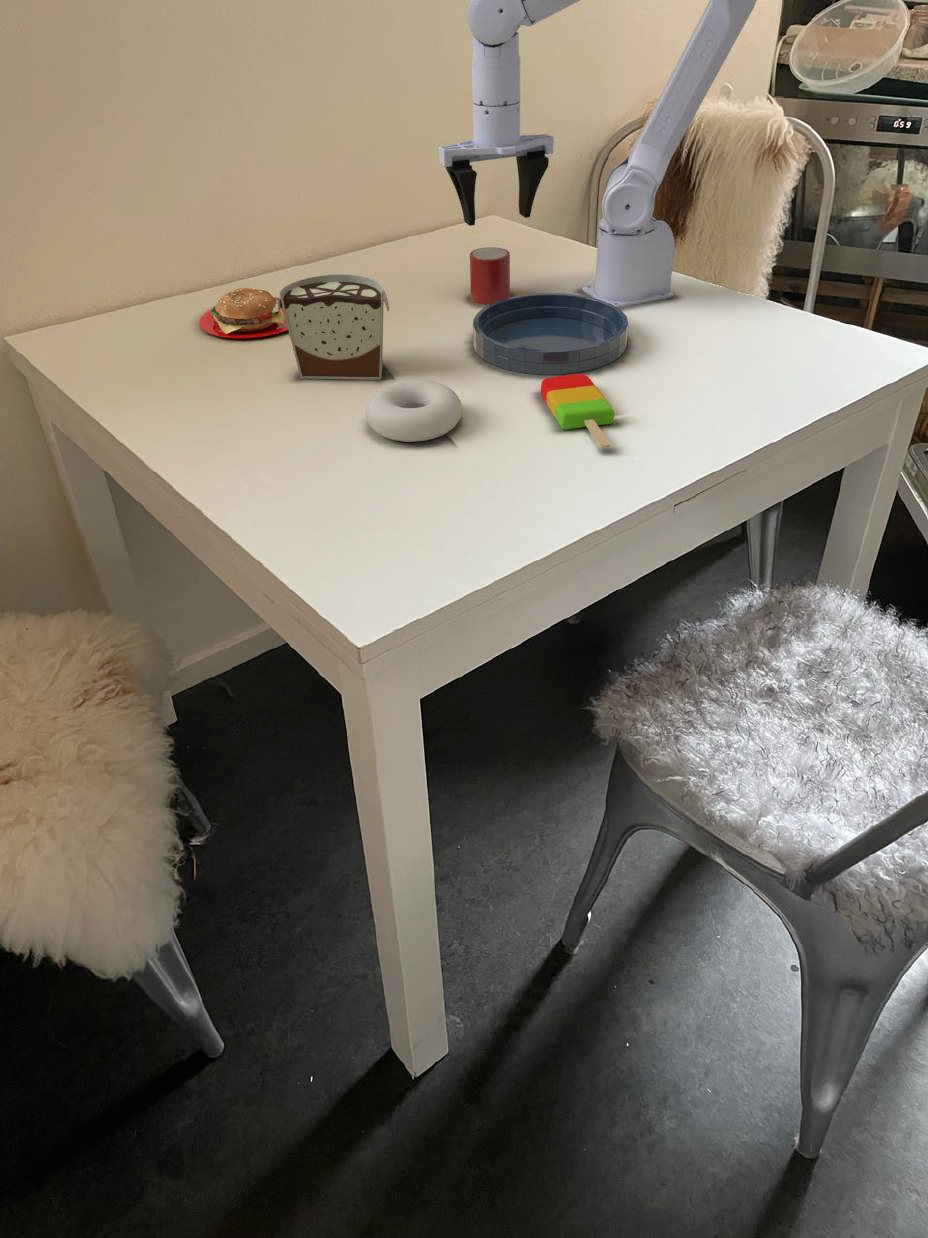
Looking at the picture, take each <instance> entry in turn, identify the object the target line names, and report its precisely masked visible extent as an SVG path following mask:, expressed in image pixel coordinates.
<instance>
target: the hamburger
mask: <svg viewBox="0 0 928 1238" xmlns="http://www.w3.org/2000/svg"><path fill="white" fill-rule="evenodd" d="M198 320H199V321H198V325H199V327H200V329H201V330H203V331H204V332H205V333H207V334H210V335H212V336H216V337H220V338H229V339H251V338H261V337H267V336H271V335H277V334H280V333H283V332H287V331H289V330H288V326H287V322H286V318H285V314H284V310H283V307H282V308H281V309H280V310H278V297H277V296H276V297H275V296H273V295H272V294H271V293H270V292H269V291H268V290H266V289H258V288H253V287H246V286H245V287H240V288H235V289H231V291H228V292H226V293H224V294H223V295H221V296H220V297H219V298H218V299H217V303H216V304H215V306H213V307H212V308H210V309H209V310H207V311H206V312H205V313H203V315H202V314H201V316H200V318H199V319H198Z"/></svg>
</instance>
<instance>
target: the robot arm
mask: <svg viewBox="0 0 928 1238" xmlns="http://www.w3.org/2000/svg"><path fill="white" fill-rule="evenodd" d="M580 1H581V0H470V2H469V4H468V8H467V12H466V13H467V14H466V17H467V19H466V20H467V25H468V27H469V30H470V32H471V34H472V41H471V48H472V58H471V84H472V85H471V90H472V92H471V93H472V94H471V95H472V133H473V137H472V139H471V140H466V141H462V142H458V143H454V144H449V145H448V144H447V145H442V146H438V161H439V165H441V166H443V167H444V168H445V171H446V172H447V174H448V176H449V178H450V179H451V182H452V184H453V186H454V189H455V191H456V194H457V197H458V199H459V203H460V206H461V211H462V215H463V216H462V217H463V221H464V223H465V224H467V226H469V227H471V226H475V225H476V207H475V206H476V203H475V196H476V194H475V193H476V184H477V183H476V182H477V176H478V172H477V171H476V170H475V169H473V165H472V164H471V163H476V162H484V161H491V160H492V161H493V160H499V159H500V160H501V159H508V158H515V159H516V166H517V174H518V214H519V215H520V216H522V217H523V218H524V219H527V218H531V216H532V215H531V213H532V210H533V205H534V201H535V198H536V194H537V190H538V188H539V186H540V183H541V181H542V179H543V177H544V175H545V173H546V171H547V170H548V168H549V165H550V159H549V157H548V156H546V155H552V154H554V144H555V143H554V136H552V135H550V134H549V133H542V134H540V133H539V134H521V57H520V54H519V52H520V51H519V50H520V49H519V48H520V47H519V46H520V37H519V36H520V32H518V30H519V29H520V27H521V26H526V27H532V26H534V25H536V24H539V23H540V22H542V21H544V20H545V19H548V18H549V17H552V16H553V15H555V14H558V13H559V12H562V11H563V10H565V9H566V8H569V7H571V6H572V5H575V4H577V3H579V2H580ZM756 3H757V0H709V1H708V3H707V5H706V6H705V8H704V11H703V12H702V15H701V17H700V19H699V20H698V21H697V24H696V26H695V27H694V30H693V31H692V33H691V35H690V37H689V39H688V42H687V43H686V45H685V47H684V48H683V51H682V53H681V55H680V57H679V59H678V60H677V63H676V64H675V66H674V69H673V70H672V72H671V74H670V76H669V78H668V80H667V82H666V83H665V86H664V88H663V90H662V92H661V93H660V95H659V97H658V99H657V101H656V103H655V104H654V107H653V109H652V111H651V113H650V114H649V116H648V118H647V120H646V122H645V124H644V126H643V128H642V130H641V131H640V134H639V135H638V137H637V139H636V140H635V141H634V143H633V145H632V146H631V148H630V150H629V152H628V154H627V156H626V157H625V158H624V159H623V160H622V161H621V162H620V163H618V164H617V165H615V167H613V168H612V169H611V171H610V173H609V174H608V176H607V178H606V181H605V193H604V194H603V198H602V201H601V214H602V217H601V218H600V219H599V220H598V228H597V229H598V230H597V245H596V246H597V247H596V251H597V252H596V265H595V281H594V282H595V284H591V285H584V286H582V289H581V290H582V292H584V293H585V294H587V295H588V296H589V297H591V298H595V299H599V300H602V301H605V302H607V303H610V304H612V305H614V306H616V307H617V308H619V309H620V308H624V307H628V306H634V305H638V304H639V305H640V304H643V303H649V302H653V301H659V300H664V299H669V298H673V297H674V293H673V292H672V291H671V285H672V276H673V267H674V266H673V265H674V258H675V238H674V233H673V230H672V228H671V227H670V225H669V224H668V223H667V222H666V221H664V220H659V219H658V220H657V219H656V217H653V214H654V210H655V201H656V195H657V192H658V189H659V187H660V186H661V184H662V182H663V180H664V177H665V175H666V173H667V169H668V167H669V165H670V162H671V160H672V158H673V156H674V154H675V153H676V150H677V149H678V147H679V146H680V143H681V142H682V140H683V138H684V136H685V134H686V132H687V130H688V128H689V127H690V125H691V123H692V122H693V120H694V118H695V116H696V114H697V113H698V110H699V109H700V107H701V105H702V103H703V101H704V99H705V98H706V96H707V94H708V93H709V90H710V89H711V87H712V85H713V84H714V81H715V79H716V77H717V76H718V74H719V72H720V70H721V69H722V67H723V65H724V63H725V61H726V60H727V58H728V55H729V54H730V52H731V50H732V48H733V46H734V45H735V43H736V41H737V39H738V37H739V36H740V34H741V32H742V30H743V29H744V27H745V25H746V23H747V21H748V20H749V17H750V16H751V14H752V12H753V10H754V8H755V6H756Z"/></svg>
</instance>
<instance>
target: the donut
mask: <svg viewBox="0 0 928 1238" xmlns="http://www.w3.org/2000/svg"><path fill="white" fill-rule="evenodd" d="M462 408H463V407H462V401H461V399H460V397H459V396H458V394H457V393H456V392H455V391H454V390H453V389H452V388H450V387H448V386H447V385H445V384H443V383H439V382H436V381H432V380H424V379H407V380H402V381H396V382H393V383H390V384H387V385H384V386H382V387H380V388H379V389H377V390H376V391H374V392H373V394H372V395H370V397H369V398H368V400H367V402H366V406H365V419H366V421H367V423H368V424H369V426H370V428H371V429H372V431H374V432H375V433H376V434H378V435H380V436H382V437H383V438H386V439H389V440H392V441H398V442H406V443H412V442H413V443H414V442H425V441H429V440H434V439H436V438H439V437H443V436H444V435H446V434H448V433H449V432H450V431H452V430H453V429H454V428H455V427H456V426H457V424H458V423H459V421H460V419H461V418H462V411H463V410H462Z"/></svg>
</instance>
